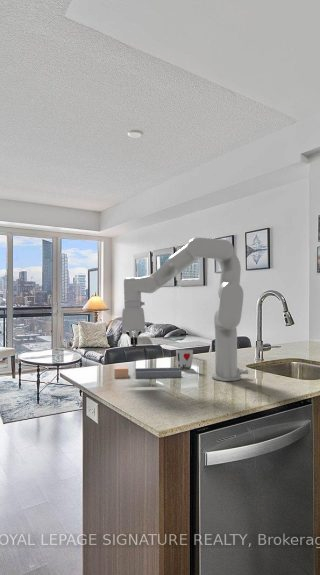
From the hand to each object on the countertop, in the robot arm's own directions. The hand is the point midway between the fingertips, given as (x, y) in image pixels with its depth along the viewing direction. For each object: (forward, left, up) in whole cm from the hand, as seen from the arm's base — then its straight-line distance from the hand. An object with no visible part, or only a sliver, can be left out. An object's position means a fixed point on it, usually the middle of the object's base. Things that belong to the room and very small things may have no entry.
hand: (134, 346), depth 167 cm
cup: (-25, -14, -15) cm, 32 cm away
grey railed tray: (-11, 0, -14) cm, 18 cm away
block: (+3, 0, -12) cm, 12 cm away
